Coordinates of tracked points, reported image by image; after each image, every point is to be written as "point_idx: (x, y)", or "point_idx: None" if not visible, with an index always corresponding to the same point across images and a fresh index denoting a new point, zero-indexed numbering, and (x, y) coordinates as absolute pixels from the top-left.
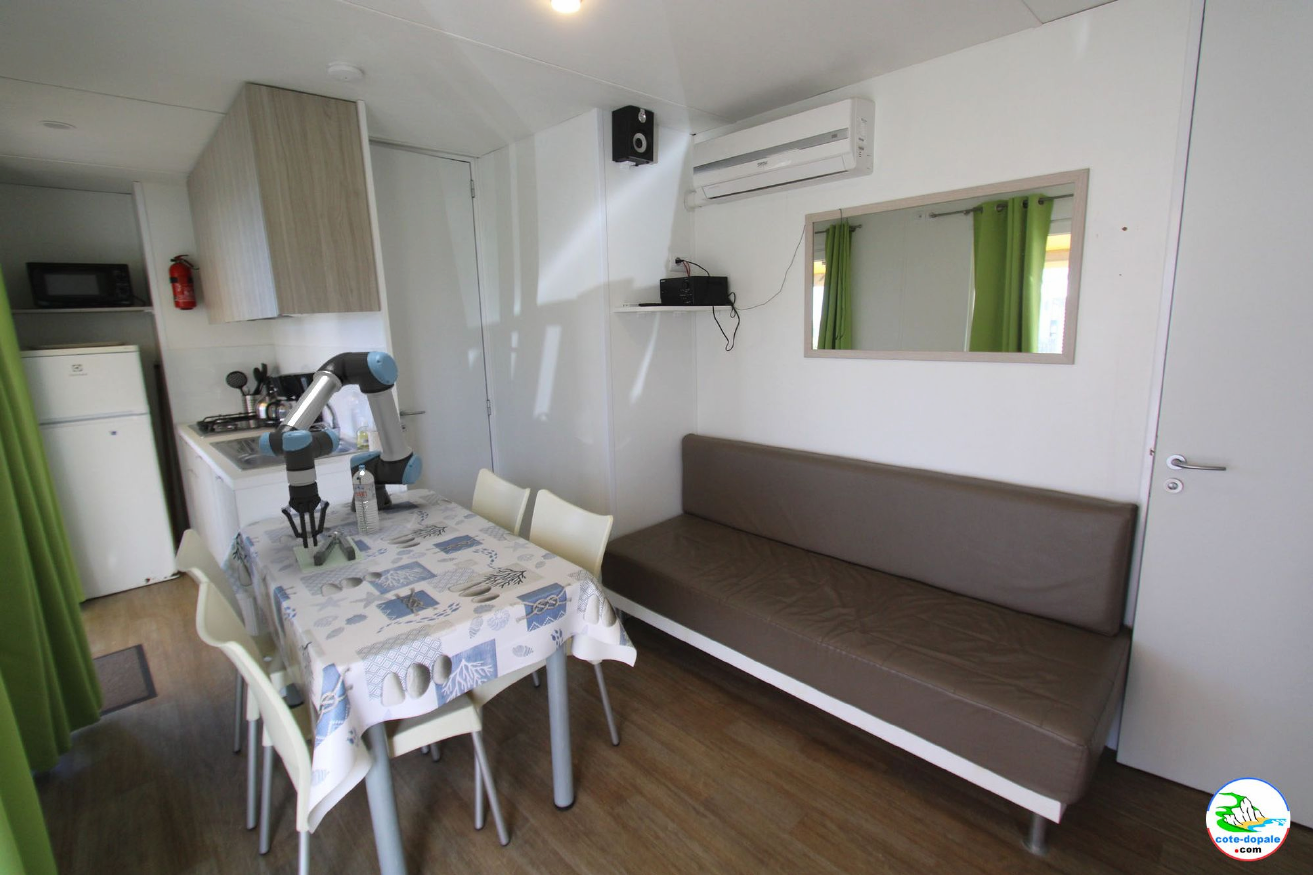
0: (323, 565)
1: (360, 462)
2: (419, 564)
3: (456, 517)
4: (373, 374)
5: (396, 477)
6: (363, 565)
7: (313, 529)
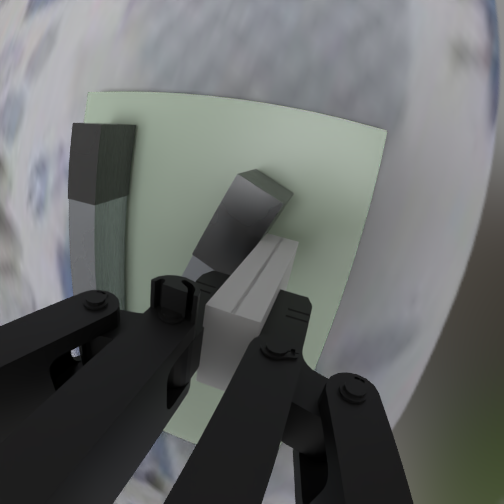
0: (253, 160)
1: None
2: None
3: None
4: None
5: None
6: (116, 69)
7: (131, 359)
